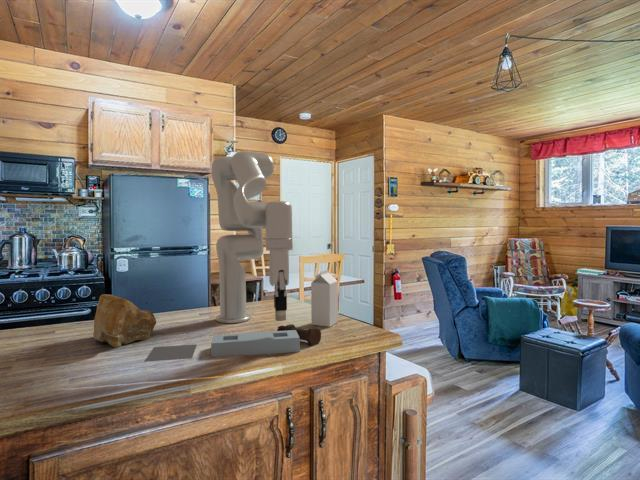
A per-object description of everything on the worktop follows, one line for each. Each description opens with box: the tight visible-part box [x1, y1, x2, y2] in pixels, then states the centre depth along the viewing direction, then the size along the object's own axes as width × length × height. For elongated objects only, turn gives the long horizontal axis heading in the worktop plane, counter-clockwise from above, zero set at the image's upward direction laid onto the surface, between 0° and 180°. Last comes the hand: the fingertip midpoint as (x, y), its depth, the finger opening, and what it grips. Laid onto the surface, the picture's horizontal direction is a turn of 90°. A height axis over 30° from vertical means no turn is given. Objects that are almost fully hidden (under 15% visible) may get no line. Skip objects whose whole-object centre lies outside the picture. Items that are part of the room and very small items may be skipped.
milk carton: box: [310, 269, 339, 328], centre depth 142 cm, size 7×7×19 cm
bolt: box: [276, 323, 322, 347], centre depth 123 cm, size 6×5×15 cm
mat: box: [144, 344, 198, 363], centre depth 112 cm, size 12×12×1 cm
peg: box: [274, 284, 287, 322], centre depth 114 cm, size 3×3×10 cm
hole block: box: [210, 330, 301, 358], centre depth 114 cm, size 24×8×4 cm, turn 101°
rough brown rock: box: [92, 293, 157, 349], centre depth 124 cm, size 23×17×15 cm
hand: (280, 308), depth 115 cm, fingers closed on peg, 3 cm apart
